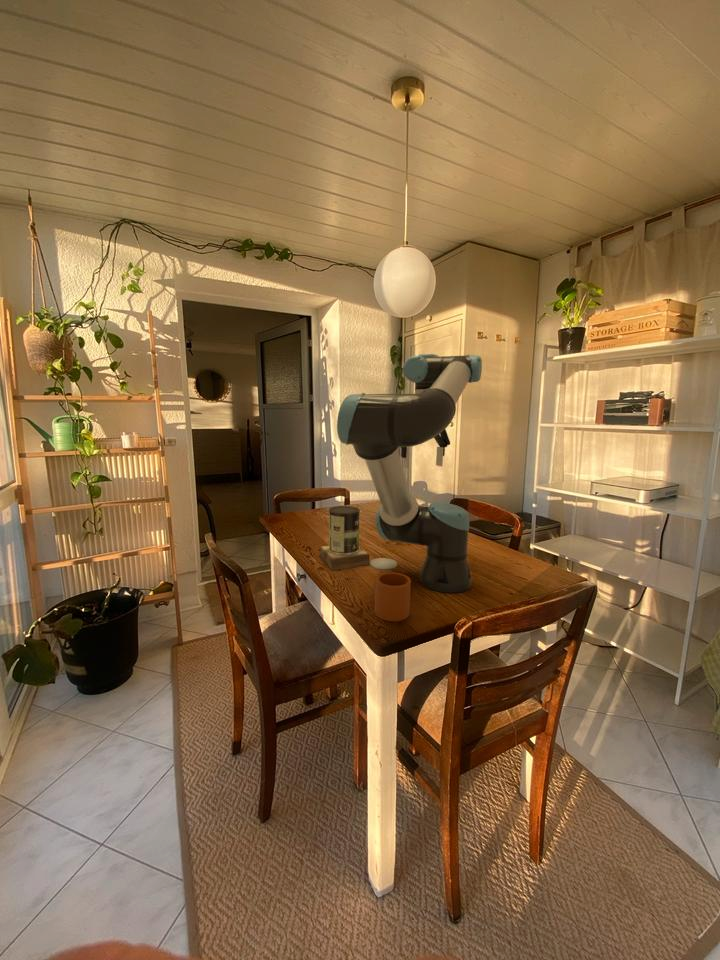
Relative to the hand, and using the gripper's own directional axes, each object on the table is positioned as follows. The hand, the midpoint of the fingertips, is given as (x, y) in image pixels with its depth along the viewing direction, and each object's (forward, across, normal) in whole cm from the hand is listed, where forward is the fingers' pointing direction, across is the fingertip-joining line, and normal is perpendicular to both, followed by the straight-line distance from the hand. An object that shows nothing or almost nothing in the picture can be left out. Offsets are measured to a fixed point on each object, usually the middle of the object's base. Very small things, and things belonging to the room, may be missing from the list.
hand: (422, 466), depth 136 cm
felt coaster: (+32, +16, +3) cm, 35 cm away
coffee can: (+28, +26, -5) cm, 39 cm away
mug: (+32, +29, +30) cm, 52 cm away
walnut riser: (+32, +26, -5) cm, 42 cm away
